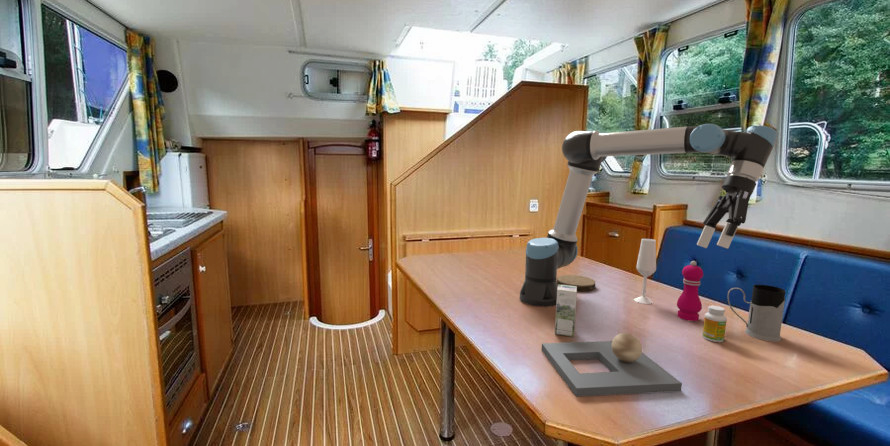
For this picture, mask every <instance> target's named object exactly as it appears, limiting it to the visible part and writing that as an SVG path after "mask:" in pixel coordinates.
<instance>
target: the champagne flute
mask: <svg viewBox="0 0 890 446" xmlns="http://www.w3.org/2000/svg"><path fill="white" fill-rule="evenodd" d="M656 245H657V242H656V239H652V238H641V241H640V247H639V251H638V255H637V263H636V267H635V268H636V270H637V272H638V273H639V274H640V275H641V276H642V277H643V279H642V290H641V291H642V292H641V296H638V297H635V298H634V299H633V301H634V302H636V303H638V302H639V304H643V305H644V304H645V305H650V304H651V303H652V304H654V302H653V300H651V299H650V298H649V297H647V296H646V293H647V285H648V284H647V283H648V277H650V276H651V275H653V274H654V273H655V272H656V271H657V246H656ZM652 304H651V305H652Z"/></svg>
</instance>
